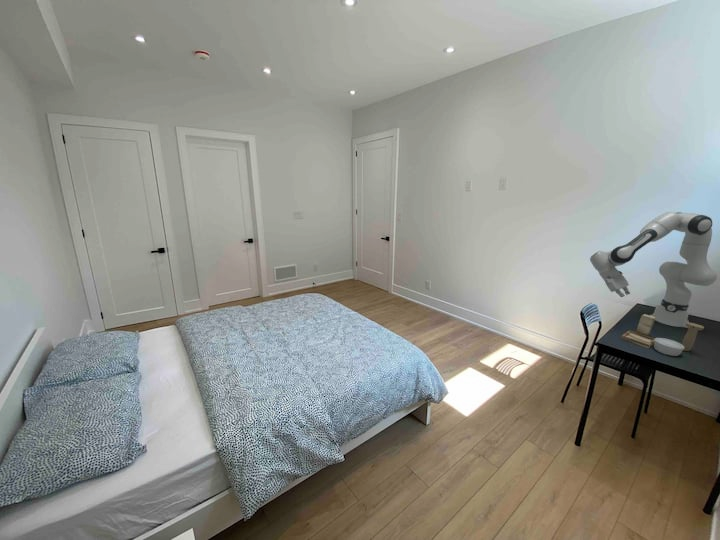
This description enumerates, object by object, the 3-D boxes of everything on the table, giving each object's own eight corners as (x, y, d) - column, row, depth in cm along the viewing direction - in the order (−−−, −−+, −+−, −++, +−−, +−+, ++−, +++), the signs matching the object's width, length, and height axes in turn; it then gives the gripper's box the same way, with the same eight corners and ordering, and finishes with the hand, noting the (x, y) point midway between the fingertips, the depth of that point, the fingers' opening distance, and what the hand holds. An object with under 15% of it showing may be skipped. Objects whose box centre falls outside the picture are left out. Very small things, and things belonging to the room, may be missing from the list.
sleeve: (638, 332, 177) (644, 314, 174) (649, 335, 173) (655, 317, 170) (635, 334, 174) (641, 315, 171) (646, 337, 171) (652, 319, 167)
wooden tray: (628, 333, 175) (629, 330, 175) (655, 342, 166) (656, 339, 165) (620, 338, 169) (621, 335, 168) (648, 348, 159) (649, 345, 158)
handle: (692, 354, 155) (702, 328, 151) (675, 348, 160) (685, 323, 156) (694, 351, 158) (705, 326, 153) (678, 345, 163) (687, 321, 158)
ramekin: (647, 348, 160) (650, 339, 158) (657, 344, 164) (661, 335, 163) (674, 359, 150) (678, 350, 148) (685, 354, 154) (688, 346, 153)
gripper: (609, 275, 175) (625, 296, 170) (622, 271, 186) (637, 290, 181) (598, 280, 180) (613, 300, 175) (611, 275, 191) (625, 295, 186)
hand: (625, 295), depth 178 cm, fingers open, 8 cm apart
